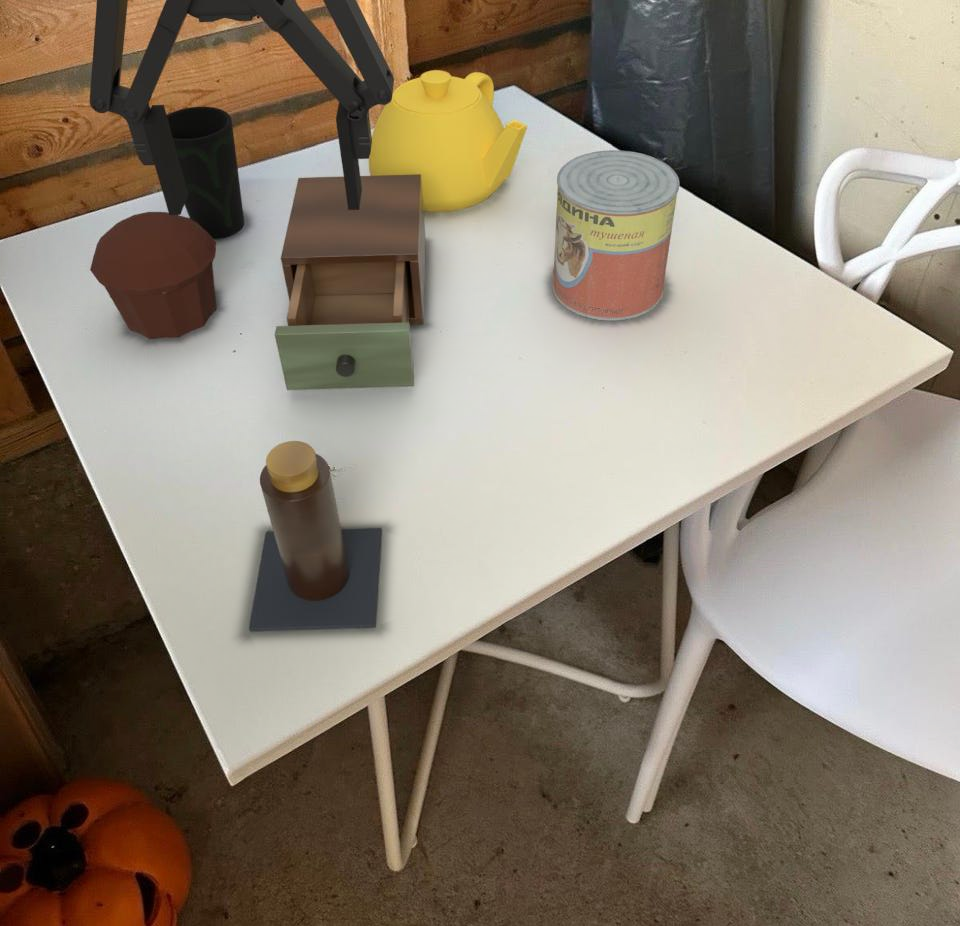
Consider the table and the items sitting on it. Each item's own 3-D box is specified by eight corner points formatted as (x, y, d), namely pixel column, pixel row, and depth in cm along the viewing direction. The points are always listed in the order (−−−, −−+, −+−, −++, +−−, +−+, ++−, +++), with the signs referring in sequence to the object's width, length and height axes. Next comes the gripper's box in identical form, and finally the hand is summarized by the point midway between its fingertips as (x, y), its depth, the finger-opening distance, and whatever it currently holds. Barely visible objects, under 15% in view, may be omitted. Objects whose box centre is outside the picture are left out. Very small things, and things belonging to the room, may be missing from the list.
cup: (172, 239, 102) (141, 136, 94) (202, 204, 107) (176, 103, 99) (236, 247, 101) (211, 143, 92) (264, 211, 106) (243, 109, 97)
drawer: (413, 395, 82) (408, 339, 78) (285, 399, 82) (272, 343, 78) (417, 297, 92) (413, 242, 88) (303, 300, 92) (292, 246, 88)
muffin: (118, 359, 88) (83, 270, 81) (105, 295, 95) (72, 208, 88) (242, 328, 91) (219, 240, 84) (220, 269, 98) (198, 183, 91)
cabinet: (423, 324, 91) (417, 253, 85) (294, 328, 91) (280, 257, 85) (425, 242, 101) (421, 173, 95) (310, 245, 101) (298, 177, 95)
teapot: (342, 190, 109) (327, 82, 100) (442, 128, 119) (437, 26, 110) (477, 245, 100) (475, 133, 91) (573, 174, 111) (579, 67, 101)
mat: (249, 631, 66) (248, 628, 66) (266, 534, 72) (265, 531, 72) (375, 627, 66) (374, 624, 66) (381, 531, 72) (381, 527, 72)
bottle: (284, 602, 67) (250, 485, 58) (291, 552, 71) (260, 434, 62) (347, 600, 67) (322, 482, 58) (351, 550, 71) (329, 432, 62)
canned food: (531, 275, 96) (534, 168, 88) (622, 245, 100) (633, 139, 91) (590, 333, 89) (600, 224, 81) (685, 299, 93) (704, 191, 84)
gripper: (419, -192, 51) (439, 170, 67) (-12, -180, 51) (109, 179, 67) (415, -158, 46) (438, 226, 62) (-65, -144, 46) (80, 236, 62)
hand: (267, 202), depth 64 cm, fingers open, 11 cm apart
